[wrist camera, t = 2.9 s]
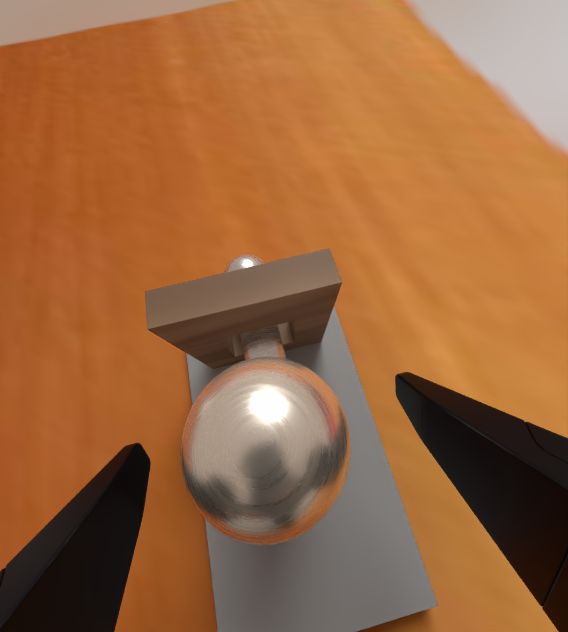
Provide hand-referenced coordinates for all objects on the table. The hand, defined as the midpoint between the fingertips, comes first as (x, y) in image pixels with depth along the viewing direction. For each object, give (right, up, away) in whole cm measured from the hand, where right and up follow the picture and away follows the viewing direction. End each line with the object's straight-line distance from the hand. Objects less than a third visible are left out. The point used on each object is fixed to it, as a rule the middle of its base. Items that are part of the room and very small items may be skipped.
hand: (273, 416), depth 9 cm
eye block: (-1, +2, +8) cm, 8 cm away
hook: (-1, +1, +6) cm, 6 cm away
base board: (0, -3, +7) cm, 8 cm away
